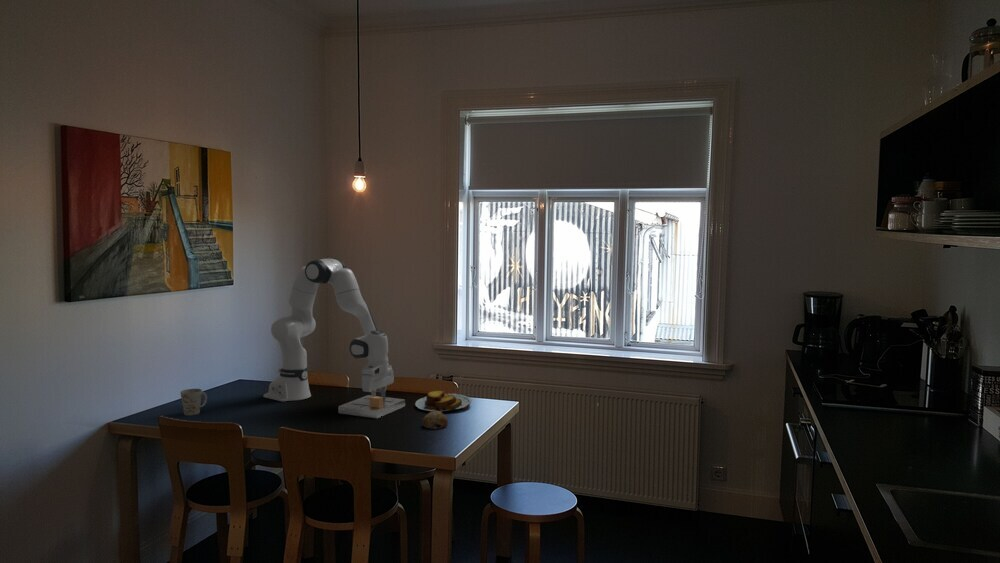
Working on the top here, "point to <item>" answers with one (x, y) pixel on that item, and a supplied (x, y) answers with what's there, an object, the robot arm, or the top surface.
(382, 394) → the black fader
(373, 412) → the mixing panel
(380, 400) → the orange fader
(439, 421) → the bread roll
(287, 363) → the robot arm
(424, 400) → the food on plate
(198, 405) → the mug
